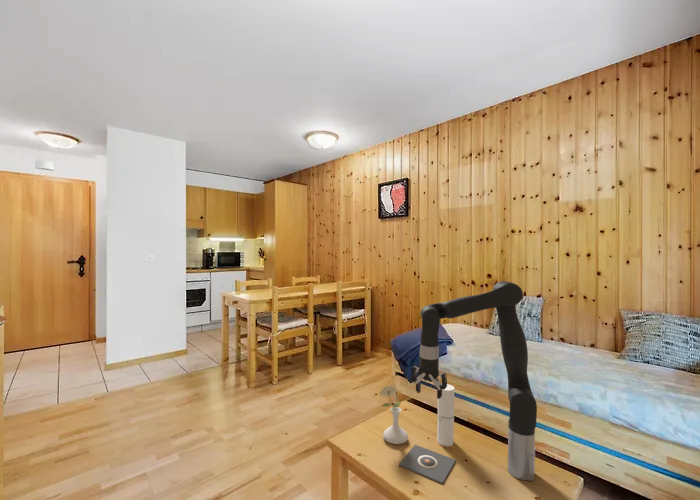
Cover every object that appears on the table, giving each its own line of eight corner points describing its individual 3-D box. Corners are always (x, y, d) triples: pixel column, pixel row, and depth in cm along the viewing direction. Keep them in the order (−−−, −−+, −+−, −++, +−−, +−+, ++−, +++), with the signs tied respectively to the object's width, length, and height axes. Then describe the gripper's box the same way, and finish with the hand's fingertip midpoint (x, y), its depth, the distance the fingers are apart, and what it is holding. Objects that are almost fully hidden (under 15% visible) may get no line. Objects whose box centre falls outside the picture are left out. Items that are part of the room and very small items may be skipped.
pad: (455, 461, 137) (455, 458, 137) (442, 484, 124) (442, 481, 124) (414, 445, 147) (414, 443, 147) (398, 465, 134) (398, 463, 134)
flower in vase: (407, 433, 157) (407, 380, 157) (409, 447, 146) (409, 391, 145) (379, 431, 159) (380, 379, 158) (379, 445, 147) (379, 389, 147)
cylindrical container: (450, 448, 146) (451, 391, 145) (434, 442, 150) (435, 387, 150) (455, 440, 151) (456, 386, 151) (440, 435, 156) (441, 382, 155)
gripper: (449, 356, 134) (448, 396, 134) (416, 349, 142) (415, 387, 142) (443, 362, 128) (442, 403, 128) (409, 354, 136) (408, 394, 136)
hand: (428, 395), depth 135 cm, fingers open, 8 cm apart
